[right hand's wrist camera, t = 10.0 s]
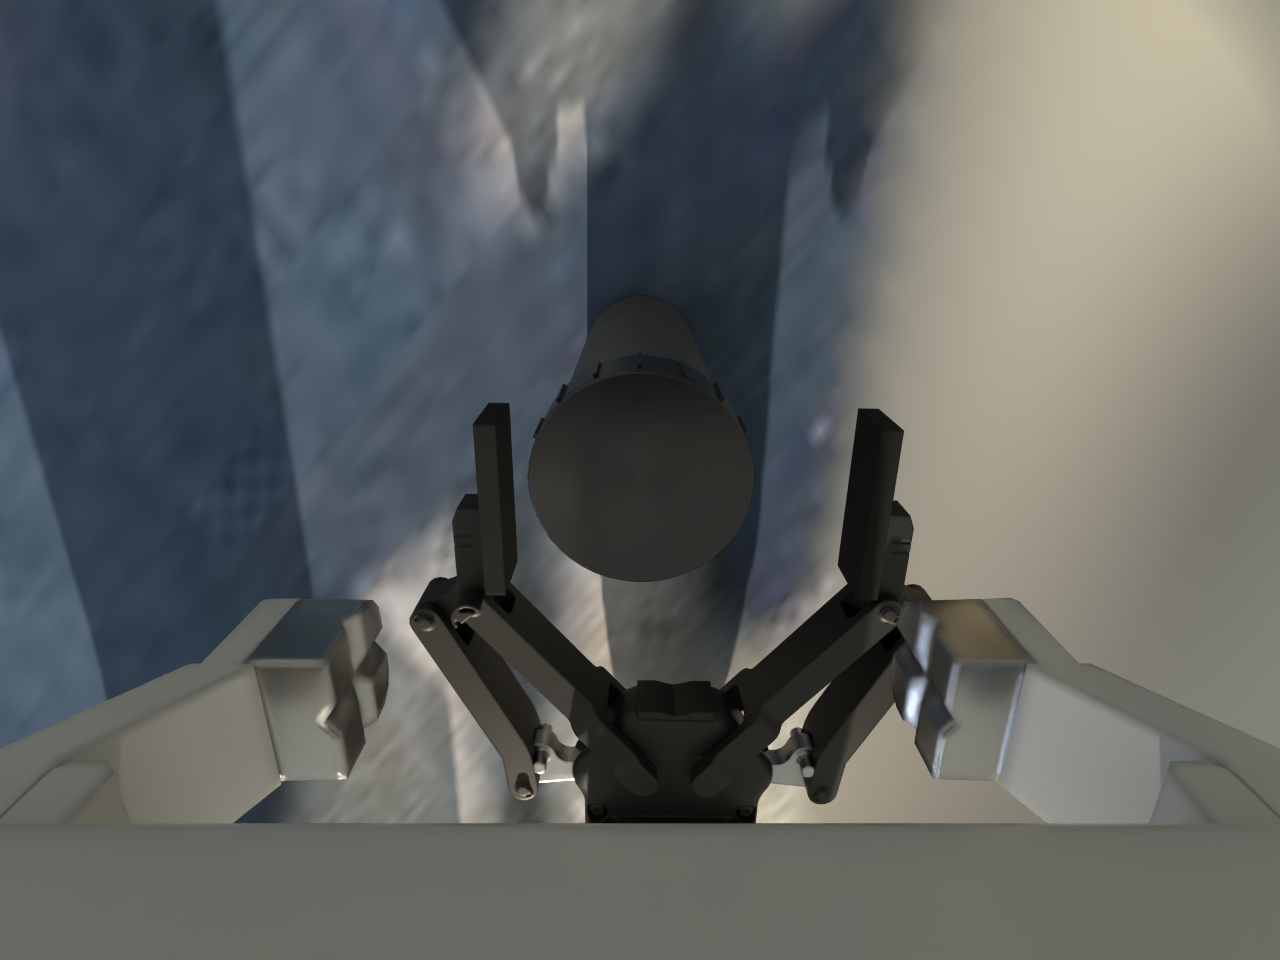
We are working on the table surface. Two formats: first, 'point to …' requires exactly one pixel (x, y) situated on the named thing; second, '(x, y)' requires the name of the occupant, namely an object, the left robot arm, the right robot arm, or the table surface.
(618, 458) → the lid
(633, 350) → the dark gray cylinder
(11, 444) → the table surface
